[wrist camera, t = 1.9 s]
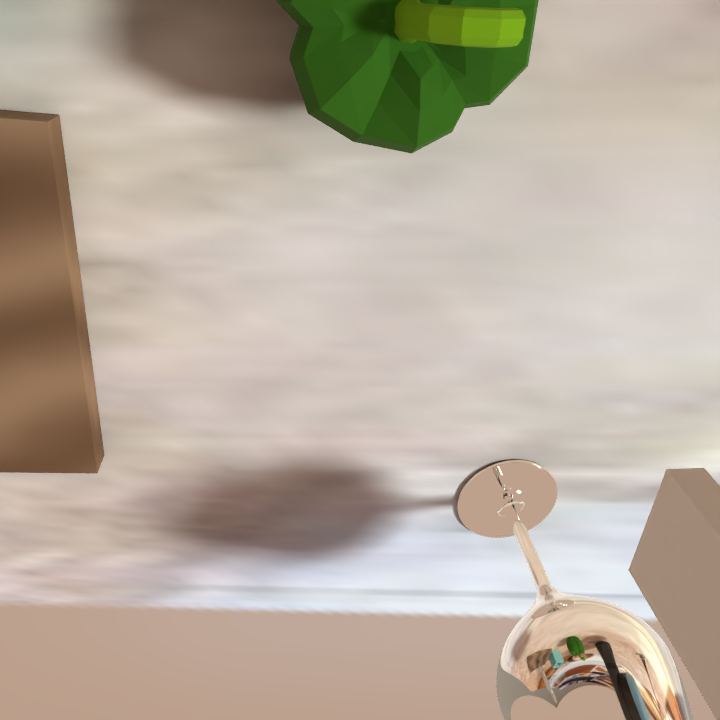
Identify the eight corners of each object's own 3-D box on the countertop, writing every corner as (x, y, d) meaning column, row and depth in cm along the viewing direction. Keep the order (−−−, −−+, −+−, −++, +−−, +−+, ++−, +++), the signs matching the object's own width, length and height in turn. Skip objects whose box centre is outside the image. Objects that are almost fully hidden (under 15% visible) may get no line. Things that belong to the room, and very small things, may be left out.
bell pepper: (248, 69, 26) (229, 112, 18) (324, -163, 23) (347, -249, 14) (427, 150, 29) (487, 222, 20) (521, -48, 25) (642, -63, 17)
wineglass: (418, 523, 41) (498, 855, 25) (490, 429, 37) (633, 745, 22) (520, 557, 43) (649, 877, 28) (596, 472, 40) (790, 783, 24)
